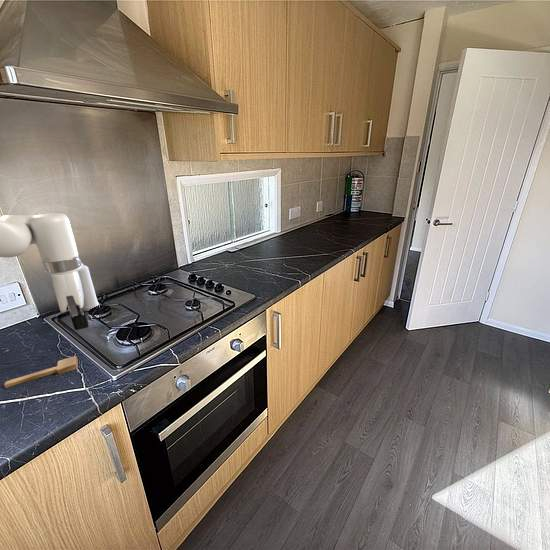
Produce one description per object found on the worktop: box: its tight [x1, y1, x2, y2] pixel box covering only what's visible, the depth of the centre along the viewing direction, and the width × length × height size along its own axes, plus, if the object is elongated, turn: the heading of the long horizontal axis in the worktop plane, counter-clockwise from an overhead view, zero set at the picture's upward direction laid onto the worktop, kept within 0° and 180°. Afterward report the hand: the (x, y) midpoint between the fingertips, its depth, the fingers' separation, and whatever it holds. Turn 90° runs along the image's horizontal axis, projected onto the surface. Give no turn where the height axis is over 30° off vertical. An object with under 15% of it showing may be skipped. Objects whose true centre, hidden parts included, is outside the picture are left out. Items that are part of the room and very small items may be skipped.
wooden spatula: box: [3, 355, 79, 389], centre depth 78 cm, size 16×4×2 cm, turn 120°
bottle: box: [78, 259, 100, 312], centre depth 106 cm, size 5×5×25 cm
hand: (81, 327), depth 80 cm, fingers closed
